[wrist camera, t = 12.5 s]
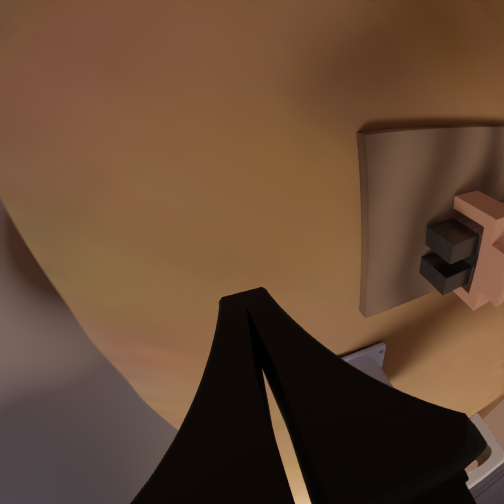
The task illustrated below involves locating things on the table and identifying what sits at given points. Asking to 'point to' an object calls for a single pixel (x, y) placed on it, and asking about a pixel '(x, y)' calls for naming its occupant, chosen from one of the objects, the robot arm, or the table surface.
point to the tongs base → (447, 271)
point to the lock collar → (484, 250)
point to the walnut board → (416, 199)
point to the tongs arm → (455, 238)
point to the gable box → (485, 454)
